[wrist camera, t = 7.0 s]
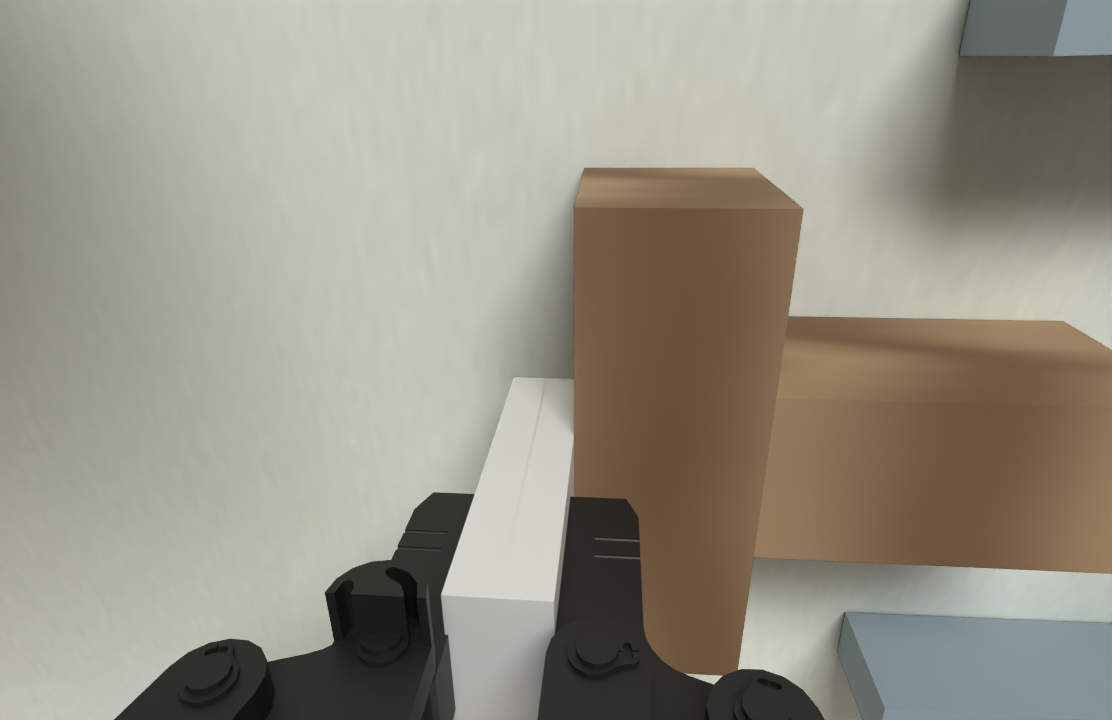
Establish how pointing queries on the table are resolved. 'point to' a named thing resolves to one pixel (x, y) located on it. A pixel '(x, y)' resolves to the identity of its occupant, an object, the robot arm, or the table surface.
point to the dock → (985, 643)
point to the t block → (809, 413)
